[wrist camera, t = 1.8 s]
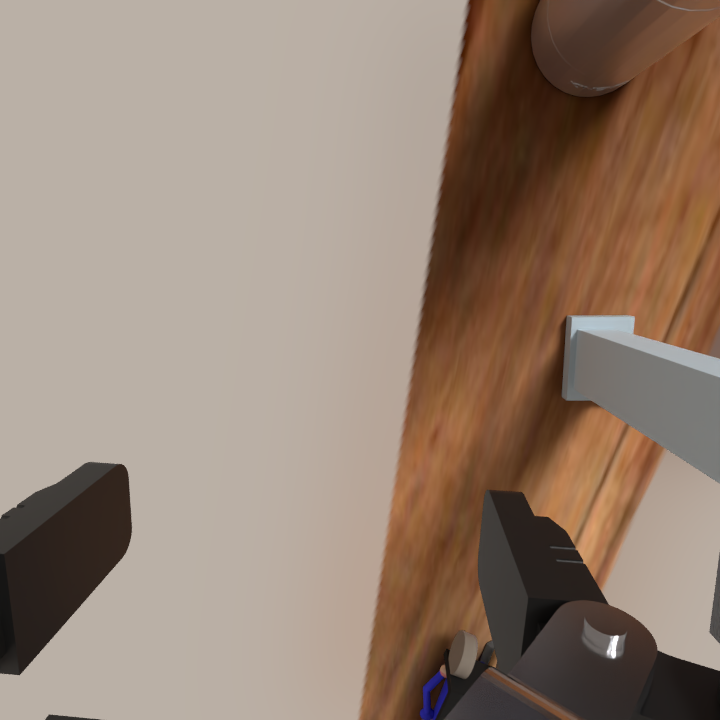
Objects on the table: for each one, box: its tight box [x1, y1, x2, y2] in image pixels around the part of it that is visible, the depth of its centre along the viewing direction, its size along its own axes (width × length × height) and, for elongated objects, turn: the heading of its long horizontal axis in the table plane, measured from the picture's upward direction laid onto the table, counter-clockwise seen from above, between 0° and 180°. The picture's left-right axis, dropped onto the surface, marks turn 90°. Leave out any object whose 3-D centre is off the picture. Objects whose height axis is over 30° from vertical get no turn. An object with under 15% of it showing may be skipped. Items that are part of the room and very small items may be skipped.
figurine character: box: [420, 630, 499, 720], centre depth 47 cm, size 7×8×15 cm
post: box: [562, 315, 720, 483], centre depth 28 cm, size 7×5×32 cm
